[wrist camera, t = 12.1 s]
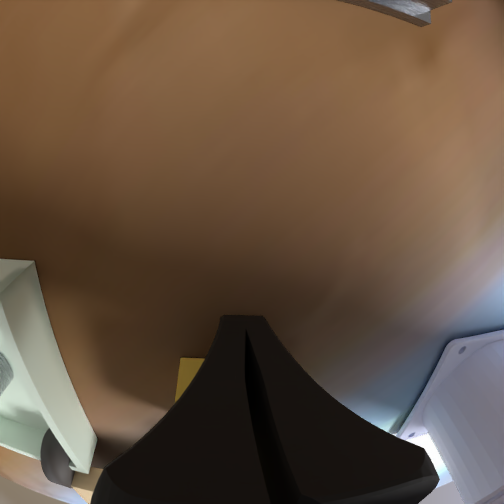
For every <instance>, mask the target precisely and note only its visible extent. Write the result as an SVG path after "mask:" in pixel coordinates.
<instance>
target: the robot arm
mask: <svg viewBox="0 0 504 504" xmlns="http://www.w3.org/2000/svg"><path fill="white" fill-rule="evenodd" d="M427 433H429V435H430V437H431V439H432V441H433V442H434V444H435V446H436V448H437V450H438V452H439V454H440V456H441V458H442V459H443V461H444V463H445V465H446V467H447V469H448V471H449V473H450V475H451V477H452V479H453V481H454V483H455V485H456V487H457V489H458V491H459V493H460V495H461V497H462V499H463V501H464V503H465V504H504V330H500V331H495V332H490V333H486V334H481V335H476V336H471V337H465V338H460V339H455V340H452V341H451V342H450V343H449V344H448V345H447V346H446V348H445V350H444V352H443V354H442V356H441V358H440V360H439V362H438V364H437V366H436V368H435V370H434V372H433V374H432V376H431V378H430V380H429V382H428V383H427V385H426V387H425V389H424V391H423V392H422V394H421V396H420V398H419V399H418V401H417V403H416V404H415V406H414V408H413V410H412V411H411V413H410V414H409V416H408V418H407V419H406V421H405V422H404V424H403V426H402V427H401V429H400V430H399V432H398V433H397V435H396V436H394V435H392V434H390V433H388V432H386V431H384V430H382V429H380V428H378V427H376V426H375V425H373V424H371V423H369V422H368V421H366V420H364V419H363V418H361V417H360V416H358V415H357V414H355V413H354V412H352V411H351V410H349V409H348V408H347V407H345V406H344V405H342V404H341V403H340V402H338V401H337V400H336V399H334V398H333V397H332V396H331V395H330V394H328V393H327V392H326V391H325V390H324V389H323V388H322V387H320V386H319V385H318V384H317V383H316V382H315V381H314V380H313V379H312V378H311V377H310V376H309V375H308V374H307V373H306V372H305V371H304V369H303V368H302V367H301V366H300V365H299V364H298V363H297V362H296V360H295V359H294V358H293V357H292V356H291V354H290V353H289V352H288V351H287V349H286V348H285V347H284V346H283V344H282V343H281V342H280V340H279V339H278V338H277V336H276V335H275V333H274V332H273V330H272V329H271V327H270V326H269V324H268V323H267V321H266V319H265V318H264V317H263V316H248V315H223V316H222V317H221V318H220V323H219V327H218V330H217V333H216V336H215V338H214V341H213V343H212V345H211V347H210V350H209V352H208V354H207V356H206V358H205V360H204V361H203V363H202V365H201V366H200V368H199V370H198V372H197V373H196V375H195V377H194V378H193V380H192V381H191V383H190V384H189V386H188V387H187V388H186V390H185V391H184V392H183V394H182V395H181V397H180V398H179V399H178V400H177V401H176V403H175V404H174V405H173V406H172V407H171V409H170V410H169V411H168V412H167V413H166V414H165V416H164V417H163V418H162V419H161V420H160V421H159V422H158V423H157V424H156V425H155V426H154V427H153V428H152V429H151V430H150V431H149V432H148V433H146V434H145V435H144V436H143V437H142V438H141V439H140V440H139V441H138V442H137V443H136V444H134V445H133V446H132V447H131V448H129V449H128V450H127V451H126V452H124V453H123V454H122V455H120V456H119V457H118V458H116V459H115V460H114V461H112V462H111V463H110V464H108V465H107V466H106V467H104V469H103V471H102V473H101V475H100V477H99V479H98V481H97V484H96V486H95V489H94V491H93V494H92V497H91V502H90V504H418V503H419V502H420V501H422V500H423V499H424V498H425V497H426V496H427V495H428V494H430V493H431V492H432V491H433V490H434V489H435V488H436V486H437V484H438V482H439V480H440V479H439V476H438V474H437V472H436V470H435V468H434V465H433V463H432V461H431V459H430V458H429V456H428V454H427V453H426V451H425V449H424V448H422V447H420V446H417V445H415V444H412V443H410V442H408V441H405V440H407V439H410V438H414V437H417V436H421V435H424V434H427Z"/></svg>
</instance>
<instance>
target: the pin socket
mask: <svg viewBox="0 0 504 504" xmlns="http://www.w3.org/2000/svg"><path fill="white" fill-rule="evenodd" d="M339 1H343V2H347V3H351V4H355V5H358V6H362V7H365V8H369V9H372V10H375V11H379V12H382V13H385V14H388V15H391V16H394V17H396V18H399V19H402V20H405V21H407V22H410V23H412V24H415V25H418V26H420V27H423V26H426V25H428V24H431V16H430V10H433V9H435V8H438V7H440V6H443V5H446V4H448V3H451V2H452V0H339Z"/></svg>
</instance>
